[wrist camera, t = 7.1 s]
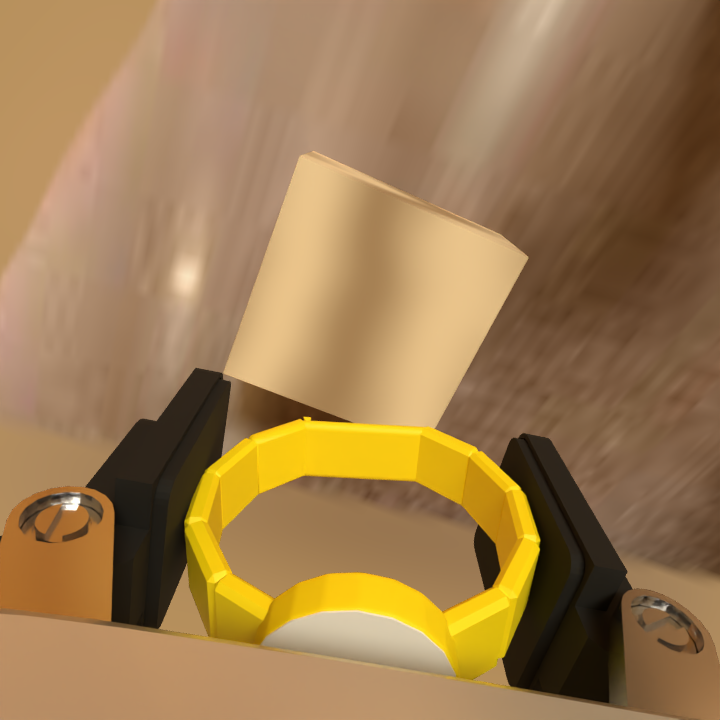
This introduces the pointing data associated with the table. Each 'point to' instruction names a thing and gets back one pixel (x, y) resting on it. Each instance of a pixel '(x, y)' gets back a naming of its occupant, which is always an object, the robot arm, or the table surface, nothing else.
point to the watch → (360, 590)
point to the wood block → (370, 299)
